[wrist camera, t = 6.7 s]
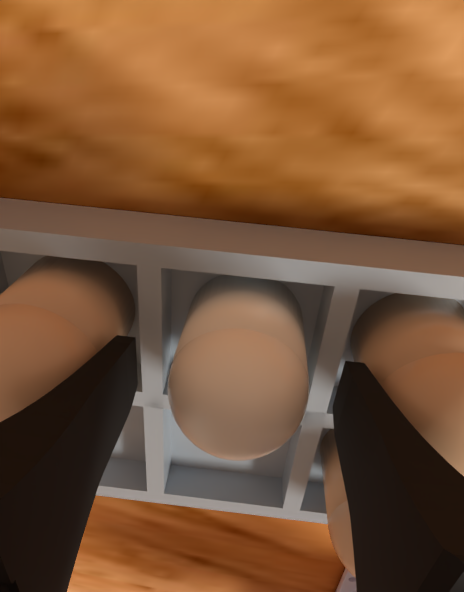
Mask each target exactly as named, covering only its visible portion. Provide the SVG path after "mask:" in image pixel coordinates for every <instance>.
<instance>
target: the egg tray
mask: <svg viewBox="0 0 464 592" xmlns="http://www.w3.org/2000/svg"><path fill="white" fill-rule="evenodd" d="M44 256H55V257H64V258H74V259H83V260H92V261H102V262H104V263H105V264H107V265H108V266H110V267H111V268H112V269H114V270H115V271H116V272H117V273H118V274H119V275H120V276H121V277H122V278H123V280H124V281H125V282H126V284H127V285H128V287H129V289H130V291H131V293H132V295H133V299H134V302H135V319H134V323H133V326H132V328H131V330H130V332H129V334H128V336H129V337H136V355H137V374H138V386H137V390H136V393H135V397H134V400H133V404H132V407H131V410H130V413H129V415H128V418H127V420H126V422H125V425H124V427H123V429H122V432H121V434H120V436H119V439H118V441H117V443H116V445H115V448H114V450H113V452H112V455H111V457H110V459H109V461H108V464H107V466H106V468H105V471H104V473H103V476H102V478H101V481H100V483H99V486H98V489H97V492H96V495H98V496H106V497H114V498H122V499H130V500H138V501H146V502H154V503H162V504H170V505H178V506H186V507H194V508H202V509H210V510H218V511H226V512H234V513H242V514H250V515H258V516H267V517H275V518H283V519H291V520H299V521H307V522H315V523H323V524H328V520H327V511H326V502H325V493H324V484H323V475H322V466H321V457H320V444H321V441H322V439H323V437H324V436H325V435H326V433H327V432H328V431H329V430H330V429H334V423H333V407H332V406H333V403H334V399H335V396H336V392H337V389H338V385H339V381H340V378H341V374H342V371H343V367H344V364H345V361H352V362H354V360H353V356H352V352H351V346H350V338H351V333H352V330H353V327H354V325H355V323H356V322H357V320H358V319H359V317H360V316H361V315H362V314H363V313H364V311H365V310H366V309H368V308H369V307H370V306H371V305H372V304H374V303H375V302H377V301H378V300H380V299H382V298H384V297H386V296H389V295H391V294H394V293H401V294H410V295H420V296H429V297H438V298H448V299H455V300H456V301H458V302H459V303H460V304H461V305H462V306H463V308H464V245H455V244H446V243H436V242H426V241H417V240H407V239H397V238H387V237H378V236H368V235H358V234H349V233H339V232H329V231H319V230H310V229H300V228H290V227H281V226H271V225H261V224H251V223H242V222H232V221H222V220H213V219H203V218H193V217H183V216H174V215H164V214H154V213H145V212H135V211H125V210H115V209H106V208H96V207H86V206H77V205H67V204H57V203H48V202H38V201H28V200H18V199H9V198H0V294H2V293H3V292H4V291H5V290H6V289H7V288H8V287H9V286H10V285H11V284H13V283H14V282H15V281H16V280H17V279H18V278H19V277H20V276H21V275H22V274H23V273H25V272H26V271H27V270H28V269H29V268H30V267H31V266H32V265H33V264H34V263H36V262H37V261H38V260H39V259H41V258H43V257H44ZM222 274H223V275H233V276H242V277H251V278H261V279H270V280H278V281H279V282H281V283H282V284H284V285H285V286H286V287H287V288H288V289H289V290H290V291H291V292H292V293H293V294H294V296H295V297H296V299H297V301H298V303H299V305H300V308H301V311H302V317H303V327H304V337H305V346H306V356H307V366H308V376H309V399H308V404H307V409H306V412H305V414H304V417H303V420H302V422H301V423H300V425H299V427H298V428H297V430H296V432H295V433H294V434H293V435H292V437H291V438H290V439H289V440H288V441H287V442H286V443H284V444H283V445H282V446H281V447H279V448H278V449H277V450H275V451H273V452H271V453H270V454H268V455H265V456H263V457H260V458H256V459H252V460H245V461H232V460H225V459H221V458H217V457H215V456H212V455H210V454H208V453H206V452H204V451H202V450H201V449H199V448H198V447H196V446H195V445H194V444H193V443H192V442H191V441H190V440H189V439H188V438H187V437H186V436H185V435H184V434H183V433H182V431H181V430H180V428H179V427H178V425H177V423H176V422H175V419H174V417H173V414H172V412H171V409H170V405H169V399H168V376H169V372H170V368H171V364H172V361H173V358H174V355H175V352H176V349H177V346H178V343H179V339H180V336H181V333H182V330H183V327H184V324H185V321H186V318H187V315H188V312H189V308H190V305H191V302H192V300H193V298H194V296H195V295H196V293H197V292H198V290H199V289H200V288H201V287H202V286H203V285H205V284H206V283H207V282H208V281H210V280H212V279H213V278H215V277H217V276H220V275H222Z"/></svg>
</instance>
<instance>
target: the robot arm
mask: <svg viewBox="0 0 464 592" xmlns="http://www.w3.org/2000/svg"><path fill="white" fill-rule="evenodd" d="M137 386H138V374H137V355H136V337H129V336H120V335H117V336H115V337H114V338H113V339H112V340H111V341H110V342H108V343H107V344H106V345H105V346H104V347H103V348H102V349H101V350H100V351H99V352H97V353H96V354H95V355H94V356H93V357H92V358H91V359H89V360H88V361H87V362H86V363H85V364H84V365H82V366H81V367H80V368H79V369H78V370H76V371H75V372H74V373H73V374H72V375H70V376H69V377H68V378H67V379H65V380H64V381H63V382H61V383H60V384H59V385H57V386H56V387H55V388H54V389H52V390H51V391H50V392H48V393H47V394H45V395H44V396H42V397H41V398H40V399H38V400H37V401H35V402H34V403H32V404H30V405H29V406H27V407H26V408H24V409H23V410H21V411H19V412H18V413H16V414H14V415H12V416H10V417H9V418H7V419H5V420H3V421H1V422H0V592H67V589H68V585H69V581H70V578H71V574H72V571H73V567H74V564H75V560H76V557H77V553H78V550H79V546H80V543H81V540H82V537H83V533H84V530H85V527H86V523H87V520H88V517H89V514H90V511H91V508H92V504H93V501H94V498H95V495H96V492H97V489H98V486H99V483H100V481H101V478H102V476H103V473H104V471H105V468H106V466H107V464H108V461H109V459H110V457H111V455H112V452H113V450H114V448H115V445H116V443H117V441H118V439H119V436H120V434H121V432H122V429H123V427H124V425H125V422H126V420H127V418H128V415H129V413H130V410H131V407H132V404H133V400H134V397H135V393H136V390H137ZM332 407H333V423H334V436H335V441H336V446H337V451H338V456H339V461H340V466H341V471H342V476H343V481H344V486H345V491H346V496H347V501H348V507H349V513H350V521H351V531H352V541H353V551H354V563H355V575H356V578H355V577H354V576H353V575H352V574H351V573H350V572H349V571H348V570H347V569H346V568H345V571H344V573H343V576H342V578H341V580H340V583H339V585H338V587H337V590H336V592H464V476H463V475H462V474H460V473H459V472H458V471H457V470H456V469H455V468H454V467H453V466H452V465H450V464H449V463H448V462H447V461H446V460H445V459H444V458H443V457H442V456H441V455H440V454H439V453H438V452H437V451H436V450H435V449H434V448H433V447H432V446H431V445H430V444H429V443H428V442H427V441H426V440H425V439H424V438H423V437H422V435H421V434H420V433H419V432H418V431H417V430H416V429H415V428H414V426H413V425H412V424H411V423H410V422H409V421H408V420H407V418H406V417H405V416H404V415H403V413H402V412H401V411H400V410H399V408H398V407H397V406H396V405H395V403H394V402H393V401H392V399H391V398H390V397H389V396H388V394H387V393H386V392H385V390H384V389H383V387H382V386H381V385H380V383H379V382H378V381H377V379H376V378H375V377H374V375H373V374H372V372H371V371H370V370H369V368H368V367H367V366H366V364H365V363H361V362H352V361H345V364H344V367H343V371H342V374H341V378H340V381H339V385H338V389H337V392H336V396H335V399H334V403H333V406H332Z"/></svg>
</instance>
